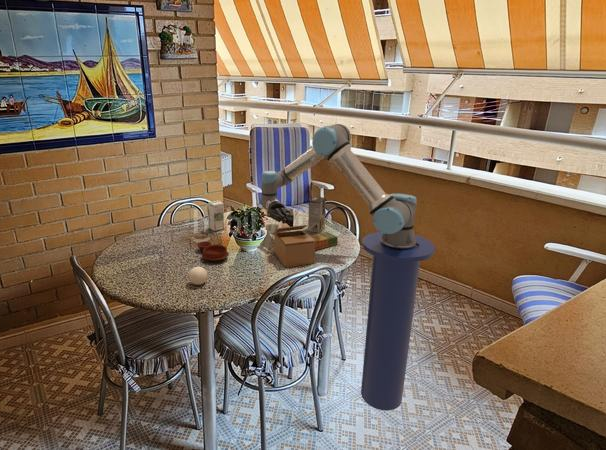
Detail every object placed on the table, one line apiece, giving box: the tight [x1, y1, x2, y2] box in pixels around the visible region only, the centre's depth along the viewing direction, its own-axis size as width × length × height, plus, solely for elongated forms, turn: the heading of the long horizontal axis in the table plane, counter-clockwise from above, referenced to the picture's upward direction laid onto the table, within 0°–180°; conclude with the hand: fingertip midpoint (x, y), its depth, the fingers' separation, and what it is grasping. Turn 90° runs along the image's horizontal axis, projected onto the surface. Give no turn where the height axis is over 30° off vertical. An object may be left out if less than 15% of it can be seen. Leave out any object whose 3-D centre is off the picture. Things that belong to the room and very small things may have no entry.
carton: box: [310, 231, 339, 251], centre depth 189 cm, size 8×16×4 cm, turn 121°
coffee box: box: [307, 195, 327, 234], centre depth 207 cm, size 9×6×16 cm
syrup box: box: [207, 200, 225, 232], centre depth 210 cm, size 6×6×14 cm
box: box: [273, 229, 316, 268], centre depth 175 cm, size 15×13×10 cm
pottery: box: [196, 241, 230, 263], centre depth 180 cm, size 12×20×4 cm, turn 32°
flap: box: [274, 224, 308, 233], centre depth 176 cm, size 7×13×1 cm
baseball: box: [188, 266, 209, 286], centre depth 155 cm, size 7×7×7 cm
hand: (291, 223), depth 175 cm, fingers closed
